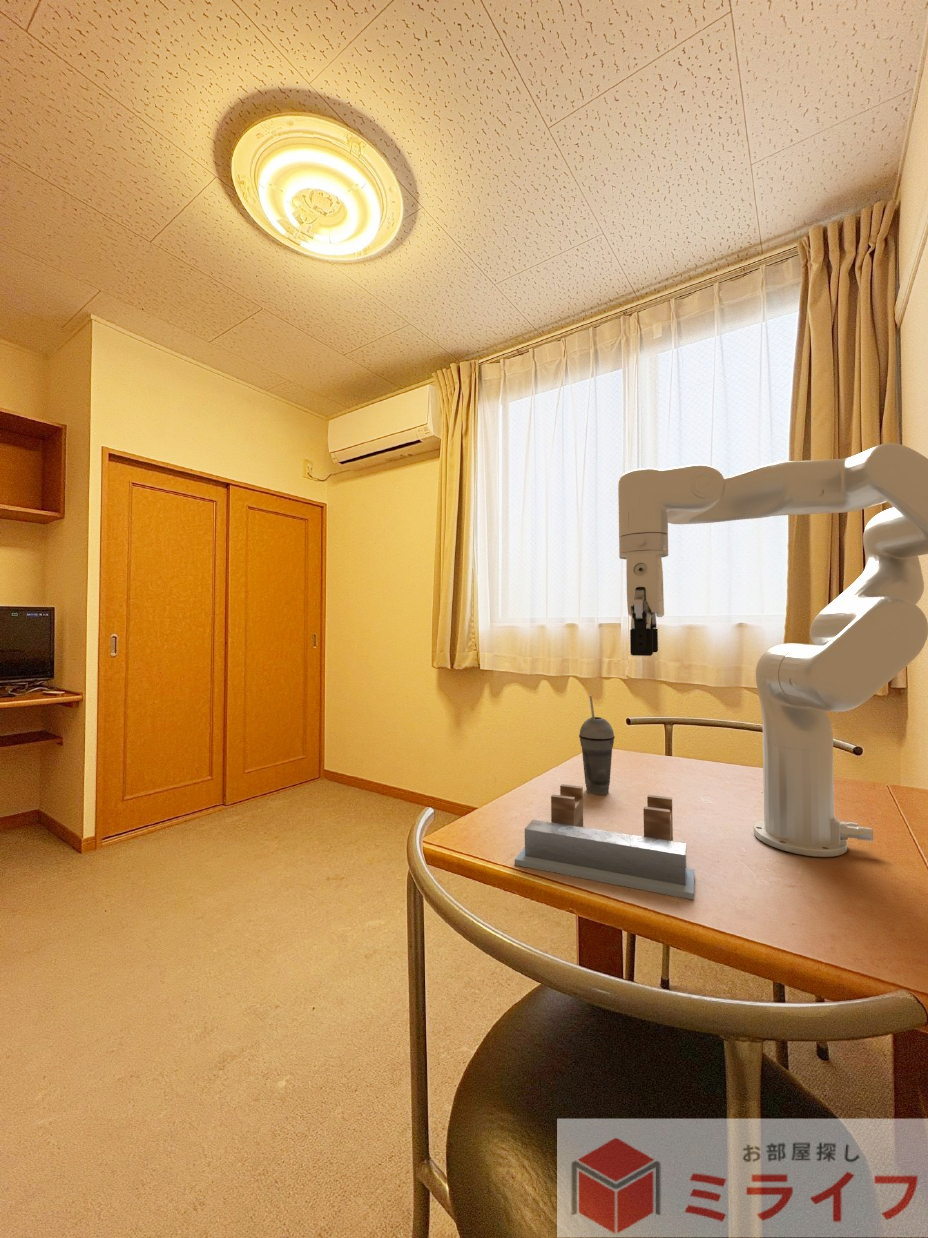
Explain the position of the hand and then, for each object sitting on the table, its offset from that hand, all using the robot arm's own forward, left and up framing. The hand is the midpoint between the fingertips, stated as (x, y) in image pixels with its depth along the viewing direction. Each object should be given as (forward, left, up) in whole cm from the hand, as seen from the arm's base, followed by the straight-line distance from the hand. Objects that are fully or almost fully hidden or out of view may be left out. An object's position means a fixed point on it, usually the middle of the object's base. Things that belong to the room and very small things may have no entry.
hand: (644, 653), depth 83 cm
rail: (+5, +12, -30) cm, 32 cm away
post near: (-2, +4, -30) cm, 31 cm away
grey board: (+5, +13, -30) cm, 33 cm away
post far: (+12, +4, -30) cm, 33 cm away
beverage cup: (+12, -22, -31) cm, 39 cm away
